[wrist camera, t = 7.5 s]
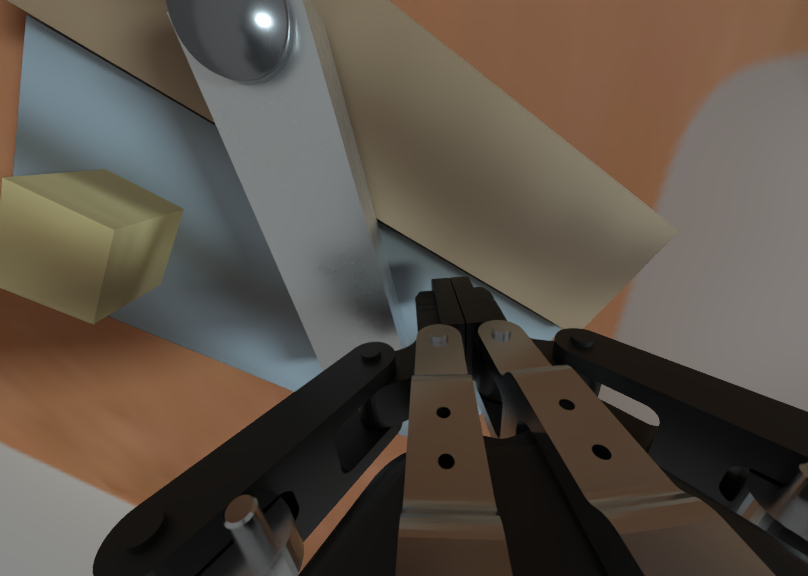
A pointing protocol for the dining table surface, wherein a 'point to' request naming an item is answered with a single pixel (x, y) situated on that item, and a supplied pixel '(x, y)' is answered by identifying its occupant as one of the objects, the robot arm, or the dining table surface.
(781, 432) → the robot arm
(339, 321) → the lock bar
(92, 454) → the dining table surface
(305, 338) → the latched flap box
